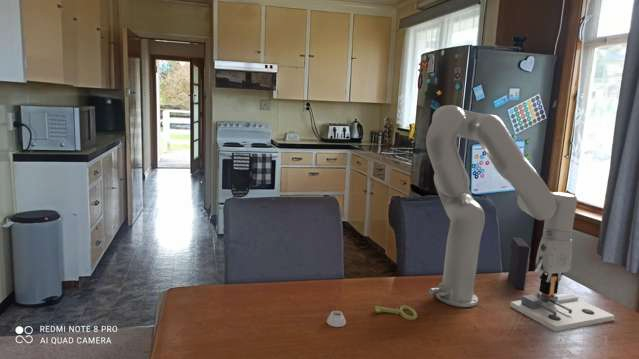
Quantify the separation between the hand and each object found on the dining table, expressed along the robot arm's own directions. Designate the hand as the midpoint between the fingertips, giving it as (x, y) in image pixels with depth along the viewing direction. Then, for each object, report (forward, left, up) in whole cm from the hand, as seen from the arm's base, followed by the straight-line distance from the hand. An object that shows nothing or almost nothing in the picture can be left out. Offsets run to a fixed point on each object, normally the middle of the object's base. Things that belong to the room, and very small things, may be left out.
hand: (548, 292), depth 137 cm
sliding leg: (0, -3, -3) cm, 4 cm away
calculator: (+7, +18, -5) cm, 20 cm away
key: (-47, +10, -6) cm, 49 cm away
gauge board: (+2, -4, -5) cm, 7 cm away
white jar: (-67, +9, -6) cm, 67 cm away
